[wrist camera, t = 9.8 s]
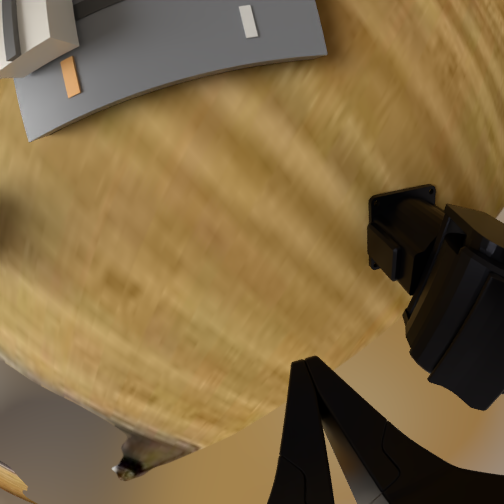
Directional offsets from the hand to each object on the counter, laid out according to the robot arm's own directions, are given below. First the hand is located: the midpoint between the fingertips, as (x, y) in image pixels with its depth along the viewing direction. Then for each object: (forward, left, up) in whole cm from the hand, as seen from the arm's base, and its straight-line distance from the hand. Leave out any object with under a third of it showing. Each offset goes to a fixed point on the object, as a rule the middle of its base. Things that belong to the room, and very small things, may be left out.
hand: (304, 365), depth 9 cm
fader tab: (+9, -16, -10) cm, 21 cm away
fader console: (+3, -16, -13) cm, 21 cm away
